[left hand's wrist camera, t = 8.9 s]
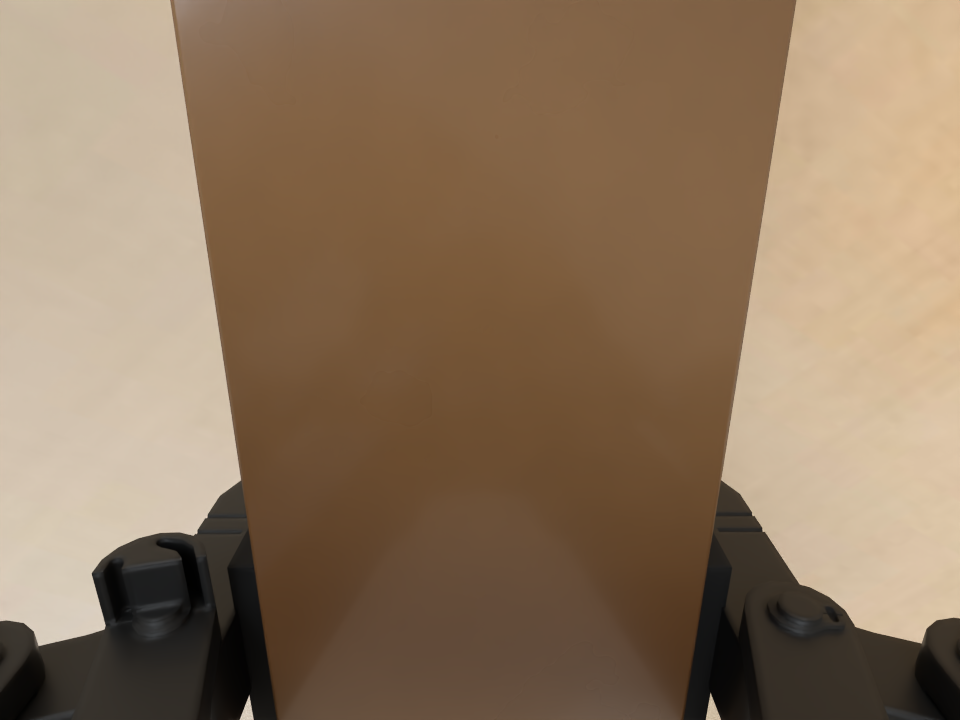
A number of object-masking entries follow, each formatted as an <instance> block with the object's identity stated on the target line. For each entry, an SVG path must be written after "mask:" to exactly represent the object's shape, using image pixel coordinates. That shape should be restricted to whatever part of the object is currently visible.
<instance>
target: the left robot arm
mask: <svg viewBox="0 0 960 720" xmlns="http://www.w3.org/2000/svg"><path fill="white" fill-rule="evenodd" d="M92 576H93V580H94V584H95V587H96V591H97V595H98V598H99V602H100V606H101V609H102V613H103V617H104V620H105V624H106V627H105V630H102V631H99V632H96V633H92V634H89V635H85V636H81V637H77V638H72V639H68V640H64V641H59V642H55V643H51V644H46V645H42V646H38V643H37V640H36V637H35V634H34V631H32V630H31V629H30V628H29V627H28V626H26V625H25V624H24V623H19V622H13V621H0V720H240V717H241V715H242V712H243V710H244V707H245V704H246V702H247V699H248V697H249V695H250V700H251V706H252V712H253V717H254V720H277V718H276V711H275V705H274V698H273V691H272V684H271V678H270V671H269V664H268V657H267V650H266V644H265V637H264V630H263V623H262V617H261V610H260V603H259V596H258V590H257V583H256V576H255V569H254V563H253V556H252V549H251V542H250V535H249V529H248V522H247V515H246V508H245V502H244V495H243V488H242V481H240V482H238V483H237V484H236V485H234V486H233V487H232V488H230V489H229V490H228V491H226V492H225V493H223V494H222V495H221V496H220V497H219V498H218V500H217V501H216V503H215V504H214V506H213V507H212V509H211V511H210V512H209V514H208V518H205V520H204V521H203V523H202V524H201V526H200V527H199V529H198V533H197V534H195V535H194V536H191V535H187V534H183V533H159V534H155V535H151V536H146V537H142V538H138V539H136V540H134V541H132V542H130V543H127V544H125V545H123V546H121V547H119V548H117V549H116V550H114V551H113V552H112V553H110V554H109V555H108V556H106V557H105V558H104V559H102V560H101V562H100V563H99V564H98V566H97V567H96V568H95V570H94V571H93V572H92ZM710 692H711V695H712V697H713V700H714V703H715V705H716V708H717V710H718V713H719V715H720V718H721V720H960V619H959V618H949V619H943V620H937V621H935V622H934V623H933V624H932V625H931V626H929V627H928V628H927V629H926V632H925V635H924V638H923V642H922V644H921V643H916V642H912V641H908V640H903V639H899V638H895V637H890V636H886V635H881V634H877V633H873V632H870V631H866V630H863V629H860V628H856V627H855V626H854V624H853V622H852V621H851V619H850V618H849V616H848V614H847V613H846V611H845V610H844V609H843V608H841V607H840V606H839V605H838V604H837V603H835V602H834V601H833V600H832V599H831V598H829V597H828V596H826V595H824V594H822V593H820V592H818V591H816V590H814V589H812V588H810V587H806V586H803V585H799V583H798V582H797V580H796V578H795V577H794V575H793V574H792V572H791V571H790V569H789V568H788V566H787V565H786V563H785V562H784V560H783V559H782V557H781V556H780V554H779V553H778V551H777V550H776V548H775V547H774V545H773V544H772V542H771V541H770V539H769V538H768V536H767V535H766V533H765V532H762V527H761V525H760V524H759V522H758V521H757V519H756V518H755V516H752V512H751V510H750V509H749V507H748V506H747V504H746V503H745V501H744V500H743V498H742V497H741V495H740V494H739V493H738V492H736V491H735V490H734V489H732V488H731V487H729V486H728V485H727V484H725V483H724V482H723V481H721V483H720V490H719V496H718V502H717V509H716V515H715V522H714V528H713V534H712V541H711V547H710V553H709V560H708V566H707V573H706V579H705V585H704V592H703V598H702V604H701V611H700V617H699V624H698V630H697V636H696V643H695V649H694V656H693V662H692V668H691V675H690V681H689V687H688V694H687V700H686V707H685V713H684V719H683V720H706V715H707V709H708V703H709V698H710Z"/></svg>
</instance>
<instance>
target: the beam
mask: <svg viewBox="0 0 960 720" xmlns="http://www.w3.org/2000/svg"><path fill="white" fill-rule="evenodd" d="M170 1H171V8H172V14H173V21H174V28H175V35H176V42H177V48H178V55H179V62H180V69H181V75H182V82H183V89H184V96H185V102H186V109H187V116H188V123H189V129H190V136H191V143H192V150H193V157H194V163H195V170H196V177H197V184H198V190H199V197H200V204H201V211H202V217H203V224H204V231H205V238H206V245H207V251H208V258H209V265H210V272H211V278H212V285H213V292H214V299H215V305H216V312H217V319H218V326H219V332H220V339H221V346H222V353H223V360H224V366H225V373H226V380H227V387H228V393H229V400H230V407H231V414H232V420H233V427H234V434H235V441H236V447H237V454H238V461H239V468H240V475H241V481H242V488H243V495H244V502H245V508H246V515H247V522H248V529H249V535H250V542H251V549H252V556H253V563H254V569H255V576H256V583H257V590H258V596H259V603H260V610H261V617H262V623H263V630H264V637H265V644H266V650H267V657H268V664H269V671H270V678H271V684H272V691H273V698H274V705H275V711H276V718H277V720H683V719H684V713H685V707H686V700H687V694H688V687H689V681H690V675H691V668H692V662H693V656H694V649H695V643H696V636H697V630H698V624H699V617H700V611H701V604H702V598H703V592H704V585H705V579H706V573H707V566H708V560H709V553H710V547H711V541H712V534H713V528H714V522H715V515H716V509H717V502H718V496H719V490H720V483H721V477H722V471H723V464H724V458H725V451H726V445H727V439H728V432H729V426H730V420H731V413H732V407H733V400H734V394H735V388H736V381H737V375H738V369H739V362H740V356H741V349H742V343H743V337H744V330H745V324H746V317H747V311H748V305H749V298H750V292H751V286H752V279H753V273H754V266H755V260H756V254H757V247H758V241H759V235H760V228H761V222H762V215H763V209H764V203H765V196H766V190H767V184H768V177H769V171H770V164H771V158H772V152H773V145H774V139H775V133H776V126H777V120H778V113H779V107H780V101H781V94H782V88H783V82H784V75H785V69H786V62H787V56H788V50H789V43H790V37H791V30H792V24H793V18H794V11H795V5H796V0H170Z"/></svg>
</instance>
